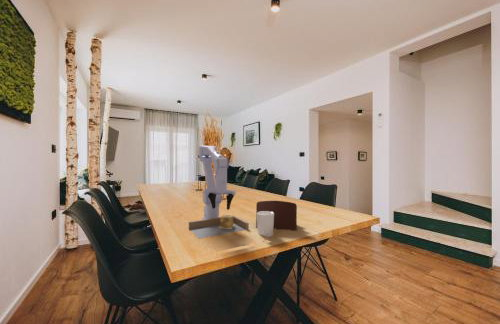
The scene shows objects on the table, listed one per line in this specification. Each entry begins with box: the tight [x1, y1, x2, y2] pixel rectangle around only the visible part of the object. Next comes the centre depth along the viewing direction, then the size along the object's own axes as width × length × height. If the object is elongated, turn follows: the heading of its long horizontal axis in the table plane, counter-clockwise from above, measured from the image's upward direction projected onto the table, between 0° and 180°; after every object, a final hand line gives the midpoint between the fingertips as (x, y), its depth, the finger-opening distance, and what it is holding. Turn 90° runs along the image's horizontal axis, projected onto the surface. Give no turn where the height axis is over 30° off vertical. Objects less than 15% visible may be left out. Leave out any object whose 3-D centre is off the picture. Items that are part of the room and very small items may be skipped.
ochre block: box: [219, 214, 233, 228], centre depth 106 cm, size 5×5×5 cm
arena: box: [188, 214, 250, 239], centre depth 103 cm, size 16×24×4 cm, turn 121°
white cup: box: [256, 211, 274, 238], centre depth 97 cm, size 8×8×10 cm
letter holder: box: [255, 200, 298, 232], centre depth 110 cm, size 10×20×14 cm, turn 80°
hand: (221, 208), depth 108 cm, fingers open, 7 cm apart
